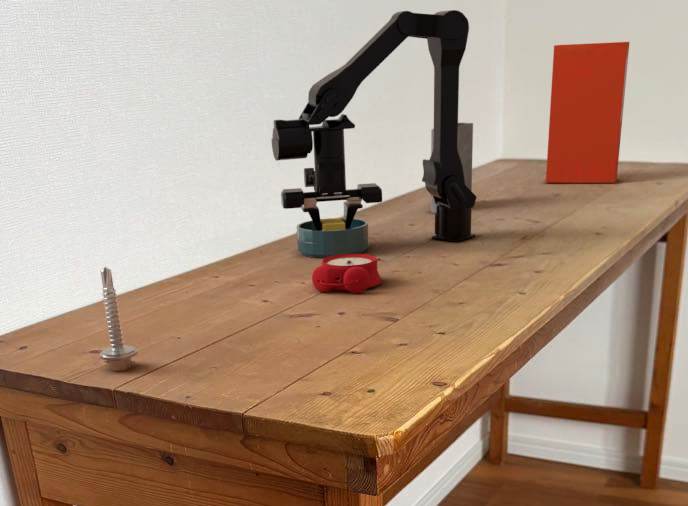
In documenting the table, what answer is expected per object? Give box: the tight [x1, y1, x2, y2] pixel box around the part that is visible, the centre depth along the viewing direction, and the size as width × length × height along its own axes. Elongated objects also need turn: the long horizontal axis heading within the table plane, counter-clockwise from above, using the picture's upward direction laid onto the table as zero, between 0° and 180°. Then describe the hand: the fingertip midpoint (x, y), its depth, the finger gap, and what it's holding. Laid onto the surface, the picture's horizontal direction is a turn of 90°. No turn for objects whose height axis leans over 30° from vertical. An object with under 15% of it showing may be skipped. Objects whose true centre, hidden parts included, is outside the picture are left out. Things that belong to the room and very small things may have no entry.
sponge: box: [320, 217, 345, 231], centre depth 181 cm, size 6×4×5 cm
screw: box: [99, 266, 138, 372], centre depth 120 cm, size 13×5×5 cm
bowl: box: [296, 217, 370, 259], centre depth 182 cm, size 14×14×5 cm
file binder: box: [545, 41, 630, 184], centre depth 239 cm, size 8×17×32 cm, turn 71°
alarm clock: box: [311, 253, 382, 294], centre depth 155 cm, size 10×6×15 cm
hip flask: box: [430, 122, 474, 214], centre depth 216 cm, size 16×4×20 cm, turn 144°
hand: (333, 242), depth 182 cm, fingers closed on sponge, 4 cm apart
